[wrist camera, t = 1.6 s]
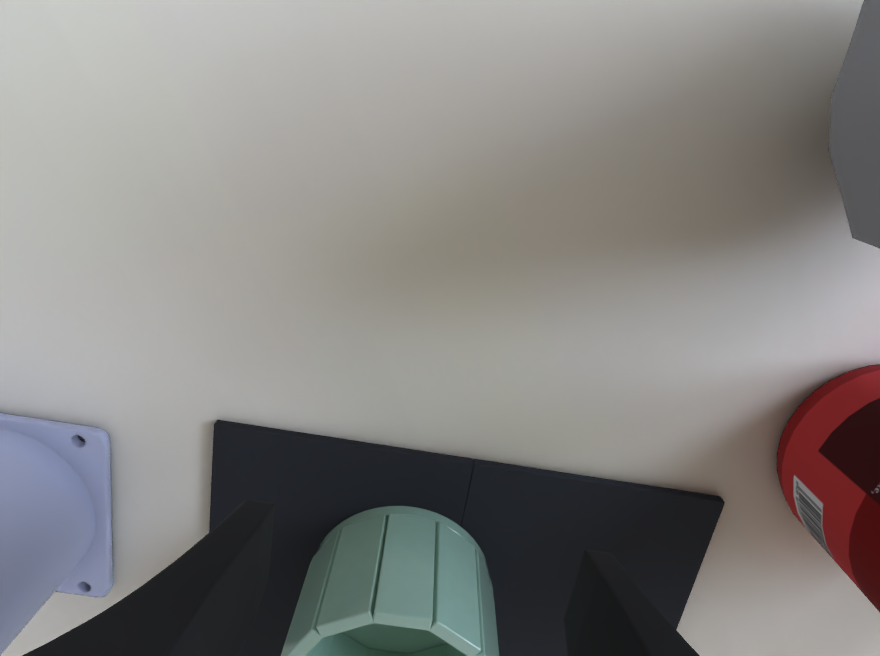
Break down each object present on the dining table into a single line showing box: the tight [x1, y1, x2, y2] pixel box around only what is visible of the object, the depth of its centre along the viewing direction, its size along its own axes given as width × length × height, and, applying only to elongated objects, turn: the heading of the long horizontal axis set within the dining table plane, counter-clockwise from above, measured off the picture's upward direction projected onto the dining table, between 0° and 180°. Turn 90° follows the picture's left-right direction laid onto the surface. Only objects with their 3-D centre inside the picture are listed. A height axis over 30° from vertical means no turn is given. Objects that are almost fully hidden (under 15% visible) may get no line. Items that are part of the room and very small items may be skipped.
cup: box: [281, 506, 499, 656], centre depth 22 cm, size 7×7×6 cm
